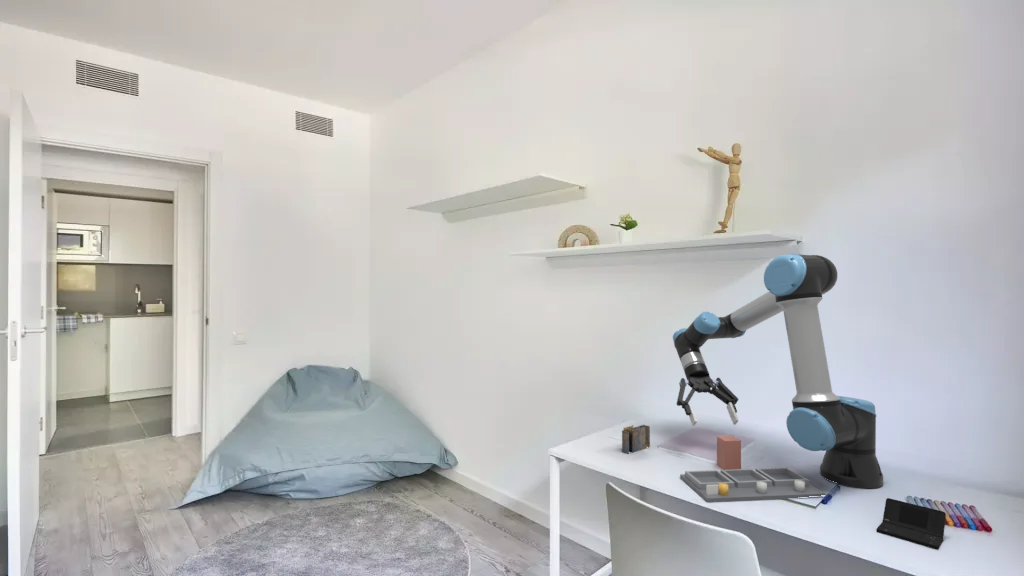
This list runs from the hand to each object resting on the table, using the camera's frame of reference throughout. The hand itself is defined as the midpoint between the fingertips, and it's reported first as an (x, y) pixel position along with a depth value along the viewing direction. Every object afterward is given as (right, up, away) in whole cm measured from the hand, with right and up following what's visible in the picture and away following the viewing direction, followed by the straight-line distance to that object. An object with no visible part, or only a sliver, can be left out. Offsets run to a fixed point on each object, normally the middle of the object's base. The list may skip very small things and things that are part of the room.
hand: (715, 423), depth 165 cm
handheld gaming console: (+24, -12, -50) cm, 56 cm away
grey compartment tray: (0, -12, -22) cm, 25 cm away
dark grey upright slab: (-23, -12, +11) cm, 28 cm away
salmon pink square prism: (+1, -12, -7) cm, 14 cm away
